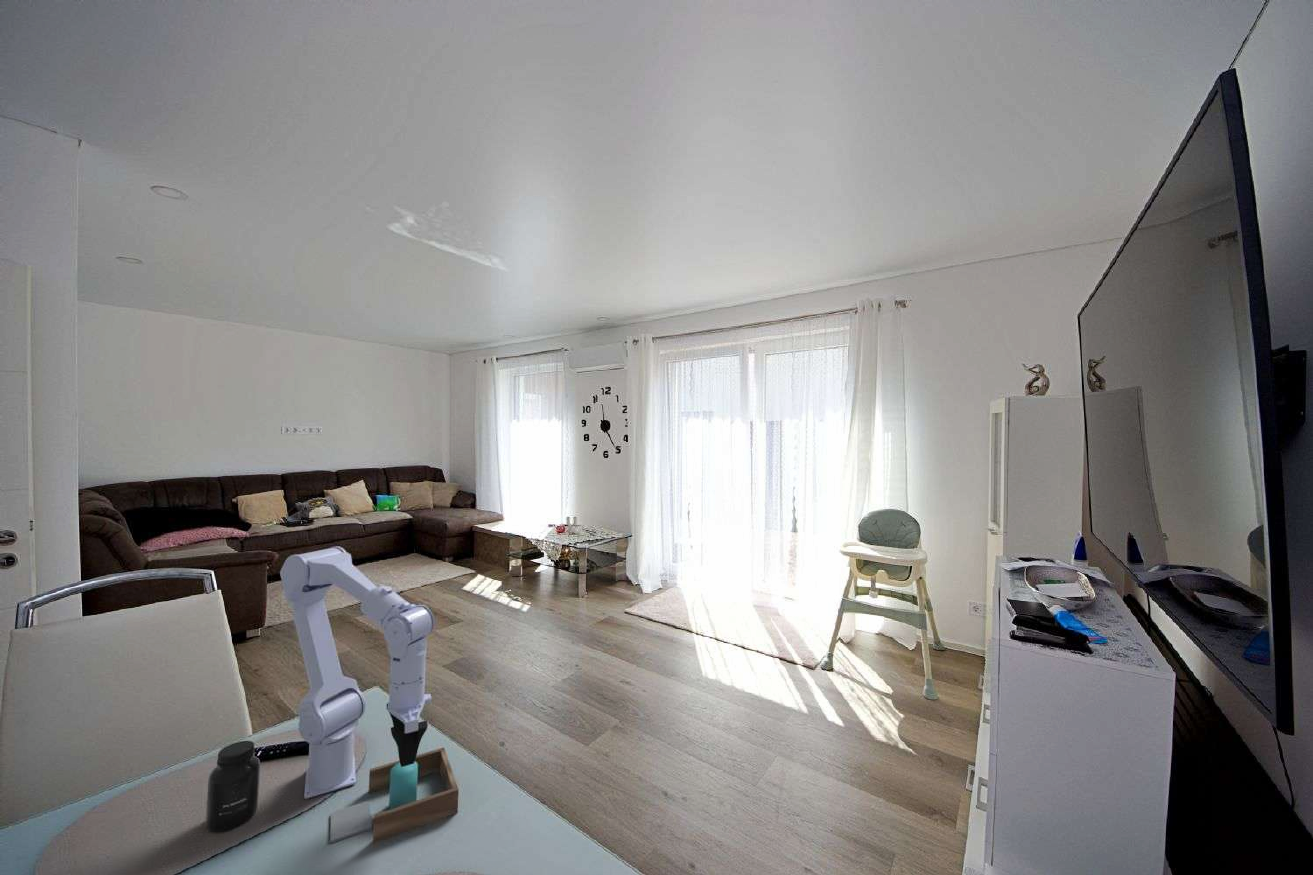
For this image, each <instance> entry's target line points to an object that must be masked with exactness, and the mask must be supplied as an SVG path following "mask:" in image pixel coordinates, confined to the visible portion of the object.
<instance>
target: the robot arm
mask: <svg viewBox="0 0 1313 875" xmlns="http://www.w3.org/2000/svg"><path fill="white" fill-rule="evenodd" d="M279 574H280V578H281V579H280V580H281V583H282V587H283V592H284V597H285V599H286V602H289V603H290V604H289V605H290V610H291V614H292V617H293V622H294V626H295V629H296V630H295V631H296V634H297V637H298V642H299V646H300V650H301V654H302V658H303V663H304V667H305V670H306V675H307V679H308V682H309V687H310V688H309V690H308V692H307V693H306V694H305V696H304V697H303V699H301V701H300V703H299V704H298V706H297V709H298V714H299V715H298V718H299V719H298V732H299V735H300V736H301V738H302V739H303V740H304V741H305V742H306V743H308V744H309V746H308V767H307V768H306V772H305V783H304V794H303V795H304V796H303V797H304V799H306V800H307V799H309V798H313V797H316V796H320V795H323V794H326V793H330V792H333V791H337V790H339V789H343V788H346V787H349V786H353V785H355V784H356V783H357V779H356V777H357V776H356V775H357V774H356V763H355V762H356V759H355V755H354V753H355V751H354V749H355V748H354V747H355V728H356V727H357V726H359V720H360V719H361V718H362V717H363V716H364V714H365V712H366V698H365V696H364V694H363V693H362V691H361V690H360V688H359V686H358V682H357V680H356V679H354V678H351V677H348V676H344V675H343V672H342V668H341V664H340V660H339V656H338V651H337V648H336V643H335V640H334V636H333V632H332V627H331V623H330V620H329V616H328V612H327V608H326V604H325V600H324V599H325V597H326V595H327V593H328V592H329V591H330V590H331V589H333V588H334V587H335V586H336V587H337V588H338V589H340V590H342V591H343V592H345V593H347V594H348V595H349V596H351V597H352V598H354V599H355V600H357V601H359V602H360V612H362V614H364V615H365V616H366V617H367V618H368V619H370V620H371V621H373V623H375V624H376V625H377V626H379V627H380V628H381V629H383V637H384V640H385V641H386V644H387V647H388V648H387V649H388V650H387V651H388V652H387V653H388V654H389V657H390V675H389V694H388V696H389V697H388V698H389V699H388V700H389V701H388V702H387V703H386V710H387V712H388V714H389V715H390V718H391V721H392V725H393V726H392V727H390V732H391V736H392V738H393V740H394V742H395V743H396V746H397V752H398V761H399V760H400V765H401V767H404V766H407V765H410V764H413V763H414V762H415V759H416V755H418V750H419V746H420V743H421V741H422V739H423V737H424V734H426V731H427V729H428V725H429V724H428V721H427V720H423V721H420V722H419V717H420V715H421V713H422V711H423V708H424V706H425V704H427V703H430V702H431V701H432V696H431V694H430V693H425V688H426V687H425V686H426V664H427V663H426V662H427V641H428V640H427V637H428V636H429V635H430V634H431V633H432V632H433V630H434V628H435V618H434V617H435V616H434V614H433V612H432V611H431V610H430V609H429V607H428V606H427V605H424V604H418V605H416V604H415V603H410V602H409V601H407V600H405V599H404V598H403V597H402V596H400V595H399V594H398V593H396V592H395V591H394V588H392V587H391V586H389V585H388V586H386V585H379V586H376V585H375V584H374V583H373V582H372V581H371V580H370V579H369V578H367V577H366V575H365V574H363V573H362V572H361V571H360V569H358V568H357V566H355V565H354V564H353V559H352V554H351V553H349V552H347V551H346V550H345V548H344V547H341V546H339V545H338V546H331V547H330V548H325V549H320V550H315V551H309V552H305V553H299V554H292V555H290V556H288V557H287V558H286V559H285V561H284V563H283V565H282V566H281V569H280V571H279Z"/></svg>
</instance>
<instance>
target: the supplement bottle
mask: <svg viewBox="0 0 1313 875" xmlns="http://www.w3.org/2000/svg"><path fill="white" fill-rule="evenodd" d="M260 760H261V759H259V757H258V756H255V743H254V742H253V741H251V740H241V741H237V742H233V743H231V744H227V745H226V746H224V747H222V749H220V750H219V751H218V752H217V761H216V767H214V768H213V770H212V771H211V773H210V774H209V776H208V781H207V794H206V795H207V796H206V810H205V829H206V831H208V832H210V833H213V834H221V833H226V832H230V831H233V830H235V829H238V828H240V827H241V826H243V825H245V824H247V823H248V822H249V821H250V820H252V818H253V817H255V814H256V813H257V810H258V805H259V793H260V791H259V790H260V779H261V761H260Z"/></svg>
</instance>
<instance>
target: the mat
mask: <svg viewBox="0 0 1313 875" xmlns="http://www.w3.org/2000/svg"><path fill="white" fill-rule="evenodd" d="M370 806H371V804H370V800H367V801H364V802H359V803H357V804H355V805H351V806H348V807H344V808H341V809H339V810H336V811H332V812H330V839H329V840H330V841H329V843H330V844H333V843H335V842H338V841H341V840H343V839H346V838H350V837H352V836H354V835H358V834H360V833H363V832H364V833H365V832H366V831H369V830H372V826H373V825H372V817H371V816H372V814H371V807H370Z"/></svg>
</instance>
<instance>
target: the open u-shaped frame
mask: <svg viewBox="0 0 1313 875" xmlns="http://www.w3.org/2000/svg"><path fill="white" fill-rule="evenodd" d="M415 762H417V764H418V773H417V779H418V778H422V777H425V776H428V775H432V774H434V773H437V772H439V773H440V776H441V779H442V783H443V786H444V791H442V792H441V791H440V792H438V793H435V794H432V795H429V796H426V797H424V798H420V799H418V800H417V799H416V801H414V802H412V803H409V804H406V805H403V806H400V807H397V808H394V809H391V810H389V809H388V810H386V811H383V812H380V813H377V814H374V815H373V816H374V817H373V837H372V838H373V839H372V842H373V844H374V843H378V842H380V841H382V840H385V839H388V838H391V837H394V836H396V835H399V834H400V835H401V834H402V833H405V832H408V831H410V830H411V831H412V830H413V829H415V828H419V827H420V826H424V825H426V824H430V823H432V822H435V821H437V820H440V819H443V818H445V817H446V818H447V817H448V816H450V815H453V814H456V813H459V812H458V810H459V788H458V787H459V786H458V784H457V781H456V778H455V776H454V773H453V770H452V767H451V764H450V761H449V758H448V756H447V751H446V749H445V747H441V748H437V749H434V750H430V751H426V752H424V753H420V754H417V755H416V759H415ZM398 763H400V760H399V759H398V760H397V761H393V762H390V763H386V764H382V765H380V766H379V765H378V766H375V767H373V768H372V767H371V768H369V774H368V776H369V777H368V793H369V794H371V793H376V792H378V791H381V790H384V789H387V788H390V772H391V769H392V768H393V767H394V766H395V765H396V764H398Z"/></svg>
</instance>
